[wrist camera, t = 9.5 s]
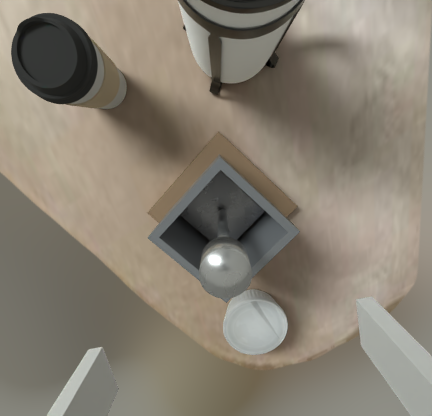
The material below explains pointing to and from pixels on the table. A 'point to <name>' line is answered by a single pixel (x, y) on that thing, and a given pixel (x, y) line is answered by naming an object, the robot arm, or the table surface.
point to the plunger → (223, 235)
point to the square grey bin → (248, 182)
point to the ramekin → (254, 323)
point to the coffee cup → (65, 64)
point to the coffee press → (236, 35)
